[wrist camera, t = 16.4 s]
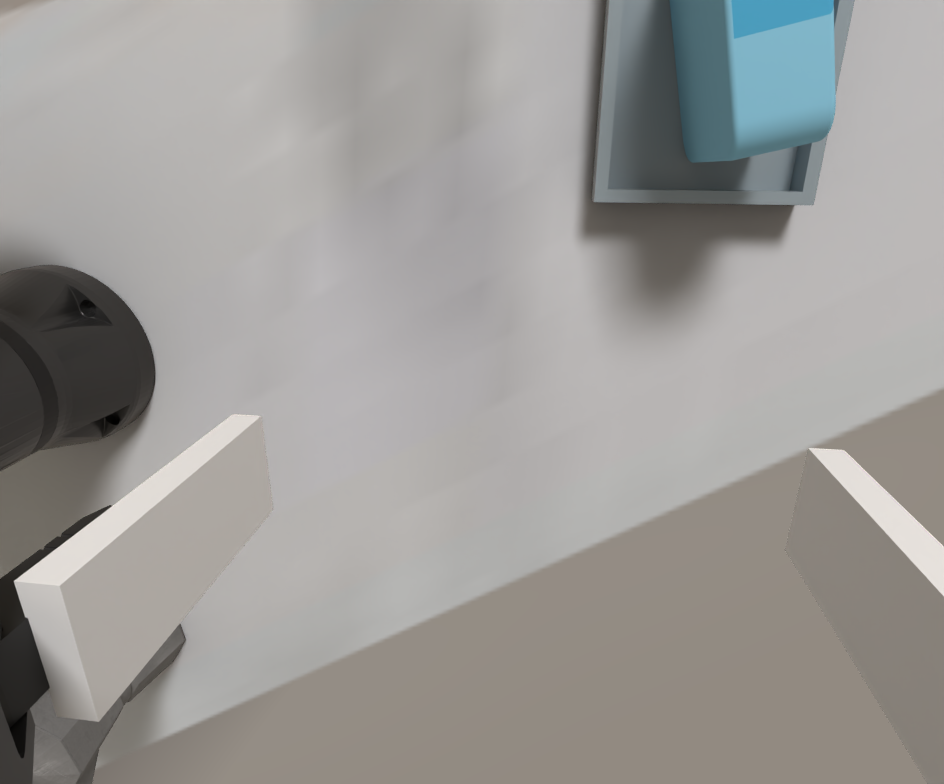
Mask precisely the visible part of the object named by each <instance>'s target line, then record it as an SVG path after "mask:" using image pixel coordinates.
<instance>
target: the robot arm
mask: <svg viewBox="0 0 944 784" xmlns="http://www.w3.org/2000/svg"><path fill="white" fill-rule="evenodd" d="M153 385H154V361H153V355H152V351H151V348H150V344H149V342H148V339H147V337H146V334H145V332H144V330H143V328H142V326H141V324H140V323H139V321H138V319H137V318H136V316H135V315H134V313H133V312H132V311H131V310H130V308H129V307H128V306H127V305H126V304H125V302H124V301H123V300H122V299H121V298H120V297H119V296H118V295H117V294H116V293H114V292H113V291H112V290H111V289H110V288H108V287H107V286H106V285H104V284H103V283H101V282H100V281H98V280H97V279H95V278H93V277H91V276H90V275H87V274H85V273H83V272H81V271H78V270H75V269H72V268H68V267H64V266H57V265H40V266H34V267H29V268H24V269H18V270H14V271H10V272H7V273H5V274H2V275H0V471H2V470H4V469H6V468H8V467H9V466H11V465H13V464H15V463H17V462H18V461H20V460H22V459H24V458H25V457H27V456H29V455H31V454H33V453H35V452H37V451H39V450H44V449H50V448H56V447H62V446H68V445H74V444H81V443H87V442H92V441H96V440H99V439H102V438H105V437H107V436H109V435H111V434H113V433H115V432H117V431H118V430H120V429H122V428H123V427H125V426H127V425H128V424H130V423H131V422H133V421H134V420H135V419H136V418H137V417H138V416H139V415H140V414H141V413H142V412H143V410H144V409H145V407H146V405H147V404H148V402H149V399H150V397H151V394H152V390H153ZM272 511H273V503H272V495H271V487H270V479H269V471H268V463H267V456H266V448H265V440H264V432H263V424H262V416H255V415H238V414H233V415H231V416H230V417H229V418H227V419H226V420H225V421H223V422H222V423H221V424H219V425H218V426H217V427H215V428H214V429H213V430H212V431H210V432H209V433H208V434H206V435H205V436H204V437H202V438H201V439H200V440H198V441H197V442H196V443H194V444H193V445H192V446H191V447H189V448H188V449H187V450H185V451H184V452H183V453H181V454H180V455H179V456H177V457H176V458H175V459H173V460H172V461H171V462H170V463H168V464H167V465H166V466H164V467H163V468H162V469H160V470H159V471H158V472H156V473H155V474H154V475H152V476H151V477H150V478H149V479H147V480H146V481H145V482H143V483H142V484H141V485H139V486H138V487H137V488H135V489H134V490H133V491H131V492H130V493H129V494H128V495H126V496H125V497H124V498H122V499H121V500H120V501H118V502H117V503H116V504H114V505H113V506H111V505H109V506H107V507H105V508H103V509H101V510H99V511H97V512H94V513H92V514H90V515H88V516H86V517H84V518H82V519H81V520H79V521H78V522H77V523H75V524H74V525H72V526H71V527H70V528H68V529H67V530H66V531H64V532H63V533H62V535H61V537H56V538H55V539H54V540H52V541H51V542H49V543H48V544H47V545H45V546H44V547H45V548H44V550H39V551H37V552H36V553H35V554H33V555H32V556H31V557H29V558H28V559H26V560H25V561H24V562H22V563H21V564H20V565H18V566H17V567H16V568H14V569H13V570H12V571H10V572H9V573H8V574H6V575H5V576H3V577H2V578H1V579H0V784H33V762H34V740H35V722H34V719H33V716H32V713H31V710H30V708H31V707H32V706H33V705H34V704H35V703H36V702H37V701H38V700H39V699H40V697H41V696H42V695H43V694H44V693H45V692H46V691H47V690H49V693H50V696H51V700H52V703H53V706H54V709H55V712H56V715H57V717H65V718H72V719H80V720H88V721H96V722H99V721H100V720H101V719H102V717H103V716H104V715H105V714H106V712H107V711H108V710H109V709H110V708H111V706H112V705H113V704H114V703H115V702H116V700H117V699H118V698H119V697H120V695H121V694H122V693H123V692H124V691H125V689H126V688H127V687H128V686H129V685H130V683H131V682H132V681H133V680H134V679H135V677H136V676H137V675H138V674H139V672H140V671H141V670H142V669H143V668H144V666H145V665H146V664H147V663H148V662H149V660H150V659H151V658H152V657H153V655H154V654H155V653H156V652H157V651H158V649H159V648H160V647H161V646H162V645H163V643H164V642H165V641H166V640H167V638H168V637H169V636H170V635H171V634H172V632H173V631H174V630H175V629H176V628H177V626H178V625H179V624H180V623H181V621H182V620H183V619H184V618H185V617H186V615H187V614H188V613H189V612H190V611H191V609H192V608H193V607H194V606H195V604H196V603H197V602H198V601H199V600H200V598H201V597H202V596H203V595H204V594H205V592H206V591H207V590H208V589H209V587H210V586H211V585H212V584H213V583H214V581H215V580H216V579H217V578H218V577H219V575H220V574H221V573H222V572H223V571H224V569H225V568H226V567H227V566H228V564H229V563H230V562H231V561H232V560H233V558H234V557H235V556H236V555H237V554H238V552H239V551H240V550H241V549H242V547H243V546H244V545H245V544H246V543H247V541H248V540H249V539H250V538H251V537H252V535H253V534H254V533H255V532H256V530H257V529H258V528H259V527H260V526H261V524H262V523H263V522H264V521H265V520H266V518H267V517H268V516H269V515H270V513H271V512H272ZM785 551H786V552H787V554H788V556H789V557H790V559H791V560H792V562H793V564H794V566H795V567H796V569H797V570H798V572H799V574H800V575H801V577H802V579H803V580H804V582H805V584H806V585H807V587H808V589H809V590H810V592H811V593H812V595H813V597H814V598H815V600H816V602H817V603H818V605H819V607H820V608H821V610H822V612H823V613H824V615H825V617H826V618H827V620H828V621H829V623H830V625H831V626H832V628H833V630H834V631H835V633H836V635H837V636H838V638H839V640H840V641H841V643H842V644H843V646H844V648H845V649H846V651H847V653H848V654H849V656H850V658H851V659H852V661H853V663H854V664H855V666H856V667H857V669H858V671H859V672H860V674H861V676H862V677H863V679H864V681H865V682H866V684H867V685H868V687H869V689H870V690H871V692H872V694H873V695H874V697H875V699H876V700H877V702H878V703H879V705H880V707H881V708H882V710H883V712H884V713H885V715H886V717H887V718H888V720H889V722H890V723H891V725H892V727H893V728H894V730H895V732H896V733H897V735H898V736H899V738H900V740H901V741H902V743H903V745H904V746H905V748H906V750H907V751H908V753H909V755H910V756H911V758H912V759H913V761H914V763H915V764H916V766H917V768H918V769H919V771H920V773H921V774H922V776H923V778H924V779H925V781H926V782H927V784H944V546H943V545H942V544H941V543H939V542H938V541H937V540H936V539H935V538H934V537H933V536H932V535H931V534H930V533H929V532H928V531H927V530H926V529H925V528H924V527H923V526H922V525H921V524H920V523H919V522H918V521H917V520H916V519H914V517H913V516H912V515H911V514H909V513H908V512H907V511H906V510H905V509H904V508H903V507H902V506H901V505H900V504H899V503H898V502H897V501H896V500H895V499H894V498H893V497H892V496H891V495H890V494H889V493H888V492H887V491H886V490H884V489H883V488H882V487H881V486H880V485H879V484H878V483H877V482H876V481H875V480H874V479H873V478H872V477H871V476H870V475H869V474H868V473H867V472H866V471H865V470H864V469H863V468H862V467H861V466H860V465H859V464H858V463H857V462H856V461H855V460H854V459H853V458H852V457H850V456H849V455H848V454H847V453H846V452H845V451H844V450H833V449H816V448H808V451H807V455H806V460H805V464H804V468H803V473H802V477H801V482H800V486H799V490H798V495H797V499H796V503H795V508H794V512H793V517H792V521H791V526H790V530H789V534H788V539H787V543H786V548H785Z"/></svg>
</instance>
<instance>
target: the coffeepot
mask: <svg viewBox="0 0 944 784" xmlns="http://www.w3.org/2000/svg"><path fill="white" fill-rule="evenodd" d="M184 641H185V637H184V634H183V630H182V627H181V625H180V624H179V625H178V626H177V628H176V629H175V630H174V631H173V632H172V634H171V635H170V636H169V637H168V638H167V640H166V641H165V642H164V643H163V645H162V646H161V647H160V648H159V649H158V651H157V652H156V653H155V654H154V655H153V657H152V658H151V659H150V660H149V662H148V663H147V664H146V665H145V666H144V668H143V669H142V670H141V671H140V672H139V674H138V675H137V676H136V677H135V679H134V680H133V681H132V682H131V683H130V685H129V686H128V687H127V688H126V689H125V691H124V692H123V693H122V694H121V695H120V697H119V698H118V699H117V700H116V702H115V703H114V704H113V705H112V706H111V708H110V709H109V710H108V711H107V712H106V714H105V715H104V716H103V717H102V719H101V720H100V721H99V722H96V721H88V720H80V719H72V718H65V717H57V715H56V712H55V709H54V706H53V703H52V700H51V696H50V693H49V690H47V691H46V692H45V693H44V694H43V695H42V696H41V697H40V699H39V700H38V701H37V702H36V703H35V704H34V705H33V706H32V707H31V708H30V710H31V713H32V716H33V719H34V722H35V740H34V762H33V784H92V781H93V776H94V771H95V766H96V761H97V756H98V751H99V747H100V746H101V744H102V742H103V741H104V739H105V738H106V736H107V734H108V733H109V731H110V729H111V728H112V726H113V724H114V723H115V721H116V719H117V717H118V716H119V714H120V712H121V710H122V708H123V706H124V705H125V703H126V702H129V701H131V700H132V699H133V698H134V697H135V696H136V695H137V694H138V693H139V692H140V691H141V690H143V689H144V688H145V687H146V686H147V685H148V684H149V683H150V682H151V681H152V680H153V679H154V678H156V677H157V676H158V675H159V674H160V673H161V672H162V671H163V670H164V669H165V668H166V667H168V666H169V665H170V664H171V663H172V662H173V661H174V659H175V657H176V656H177V654H178V652H179V651H180V649H181V647H182V645H183V643H184Z"/></svg>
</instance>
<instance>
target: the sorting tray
mask: <svg viewBox="0 0 944 784" xmlns="http://www.w3.org/2000/svg"><path fill="white" fill-rule="evenodd" d="M854 1H855V0H834V46H835V95H836V90H837V85H838V80H839V75H840V70H841V65H842V60H843V55H844V51H845V46H846V41H847V36H848V31H849V26H850V21H851V16H852V11H853V6H854ZM827 135H828V134H827ZM826 140H827V136H826V137H825V138H824V139H822V140H821V141H818V142H814V143H809V144H805V145H800V146H796V147H791V148H787V149H782V150H778V151H773V152H769V153H764V154H760V155H755V156H751V157H746V158H742V159H737V160H733V161H717V162H697V163H692V162H690V161H689V160H688V158H687V156H686V153H685V149H684V144H683V136H682V125H681V115H680V105H679V94H678V84H677V73H676V63H675V53H674V42H673V32H672V22H671V11H670V1H669V0H606V11H605V25H604V38H603V52H602V65H601V79H600V92H599V105H598V119H597V132H596V146H595V159H594V172H593V186H592V199H591V200H592V201H593V202H619V203H688V204H758V205H814V200H815V195H816V190H817V185H818V180H819V175H820V170H821V165H822V160H823V155H824V150H825V145H826Z"/></svg>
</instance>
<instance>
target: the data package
mask: <svg viewBox="0 0 944 784" xmlns="http://www.w3.org/2000/svg"><path fill="white" fill-rule="evenodd" d="M669 1H670V11H671V22H672V32H673V42H674V53H675V63H676V73H677V84H678V94H679V105H680V115H681V125H682V136H683V144H684V149H685V153H686V156H687V158H688V160H689V161H690V162H692V163H697V162H717V161H733V160H737V159H742V158H746V157H751V156H755V155H760V154H764V153H769V152H773V151H778V150H782V149H787V148H791V147H796V146H800V145H805V144H809V143H814V142H818V141H821V140H822V139H824V138H825V137H826V136H827V134H828V133H829V131H830V129H831V126H832V123H833V120H834V115H835V104H836V97H835V46H834V0H669Z"/></svg>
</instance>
